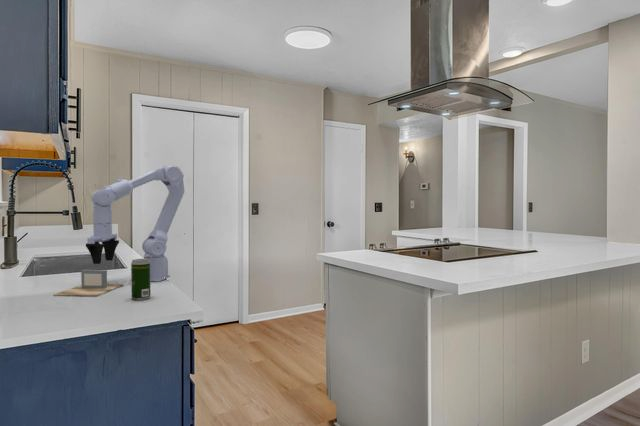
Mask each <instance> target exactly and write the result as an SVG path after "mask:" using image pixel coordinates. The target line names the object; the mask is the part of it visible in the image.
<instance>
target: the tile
mask: <svg viewBox="0 0 640 426" xmlns="http://www.w3.org/2000/svg"><path fill="white" fill-rule="evenodd" d="M80 273H81V274H80V276H81V278H80V279H81V285H82V288H96V289H105V288H107V284H108V271H107V269H106V270H105V269H82V270H80Z"/></svg>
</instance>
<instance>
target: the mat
mask: <svg viewBox="0 0 640 426" xmlns="http://www.w3.org/2000/svg"><path fill="white" fill-rule="evenodd" d="M121 287H124V284H123V283H122V284H119V283H118V284H117V283H116V284H115V283H107V288H105V289H96V288H82V284H81V285H78V286H74V287H71V288H69V289H66V290H62V291H60V292H57V293H54V294H53V295H52V296H53V297H87V298H89V297H90V298H91V297H99V296H101V295H103V294H106V293H110V292H111V291H114V290H116V289H119V288H121Z"/></svg>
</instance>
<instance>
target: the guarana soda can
mask: <svg viewBox="0 0 640 426" xmlns="http://www.w3.org/2000/svg"><path fill="white" fill-rule="evenodd" d="M130 263H131V264H130V265H131V267H130V271H131V272H130V277H131V278H130V279H131V281H130V283H131V284H130V285H131V298H132V300H133V301H145V300H149V299H150V297H151V281H150V261H149V259H144V258H136V259H132V260H131V262H130Z"/></svg>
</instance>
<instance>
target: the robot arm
mask: <svg viewBox="0 0 640 426" xmlns="http://www.w3.org/2000/svg"><path fill="white" fill-rule="evenodd" d="M184 176H185V175H184V173H183V172H182V170H181V168H180V167H179V166H178V165H174V164H172V165H170V164H169V166H167V165H165V166H162V167H158V168H155V169H151V170H149V171H147V172H145V173H142V174H141V175H139V176H137V177H134V178H133V179H130V180H128V179H125V178H124V179H117V180H116V181H115V182H114V183H112V184H110V185H104V186H103V188H101V189H98V190H95V191H94V192H93V193H92V195H91V198H90V199H91V202H92V204H93V211H92V213H93V214H92V215H93V216H92V219H93V220H92V222H93V235H90V237H87V238H86V239H87V240H86V241H87V243H85V247H86V249H87V250H88V252H89V254H90V257H91V259H92V264H93V265H101V263H102V255H103V254H102V253H103V249H104V257H105V261H113V260H114V256H115V253H116V250H117V247H118V245H119V243H120V240H119V239H118V234H117V233H113V223H112V221H113V219H112V218H113V217H112V216H113V214H112V211H113V210H112V204H113V201H114V202H116V201H119V200H121V199H122V198H123V199H124V198H125V197H127V196H129V195H131V194H133V190H134V189H136V188H138V187H141V186H143V185H146V184H149V183H150V182H152V181H161V183H163V184H164V185H165V186H166V189H167V190H168V194H167V197H166V199H165V202H164V204H163V207H162V208H161V211H160V214H159V216H158V218H157V220H156V223H155V225H154V227H153V229H152V231H151V232H150V233H149V235H148V236H147V238H146V239H145V240H143V242H142V246H141V247H142V251H143V252H144V255H143V259H149V261H150V282H161V281H165V280H166V279H168V278H171V275H170V274H169V260H168V258H167V256H165V253H166V250H167V241H168V233H169V230H170V228H171V226H172V222H173V220H174V218H175V216H176V213H177V212H178V209H179V206H180V204H181V201H182V199H183V196H184V194H185V185H184ZM164 277H165V278H166V279H165V278H164Z"/></svg>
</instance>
